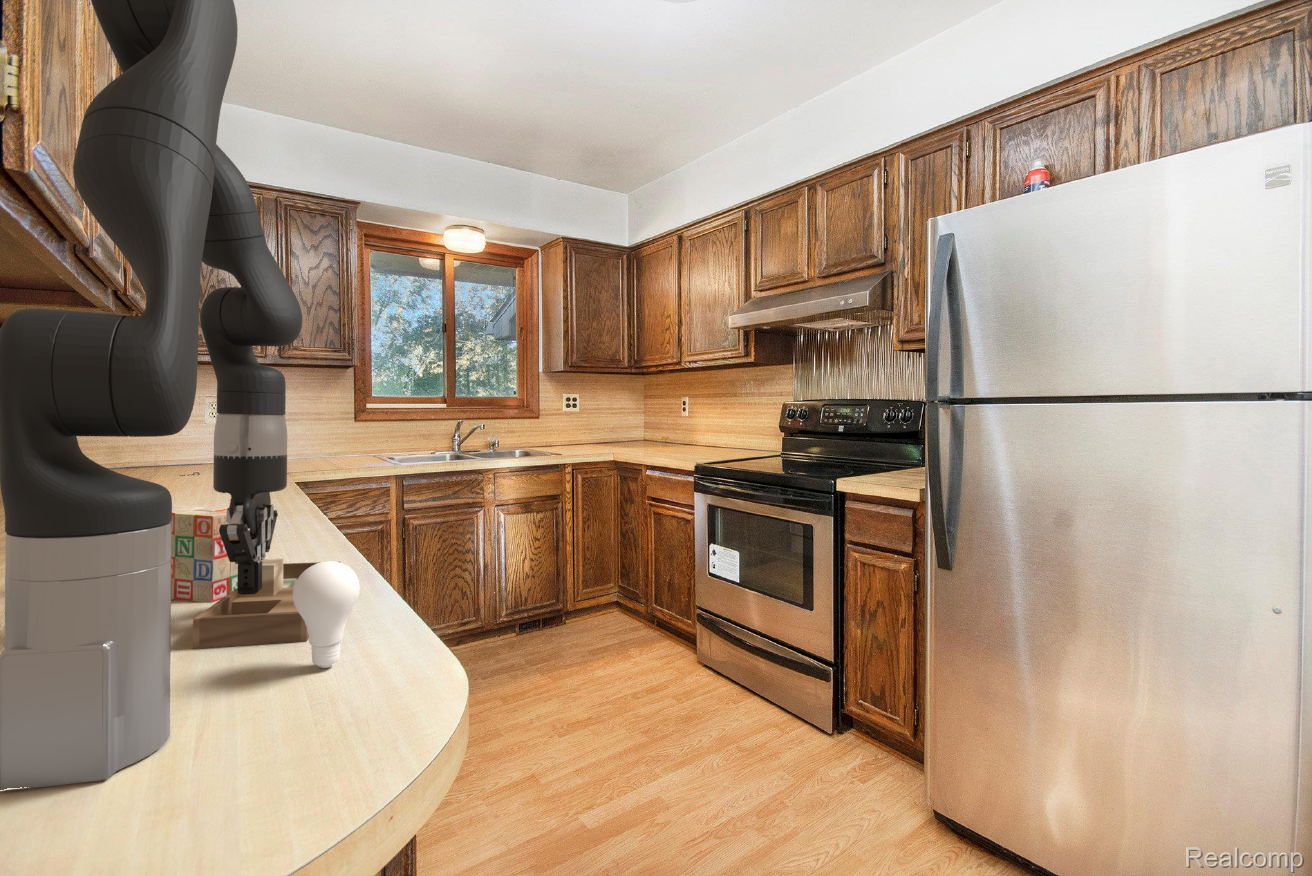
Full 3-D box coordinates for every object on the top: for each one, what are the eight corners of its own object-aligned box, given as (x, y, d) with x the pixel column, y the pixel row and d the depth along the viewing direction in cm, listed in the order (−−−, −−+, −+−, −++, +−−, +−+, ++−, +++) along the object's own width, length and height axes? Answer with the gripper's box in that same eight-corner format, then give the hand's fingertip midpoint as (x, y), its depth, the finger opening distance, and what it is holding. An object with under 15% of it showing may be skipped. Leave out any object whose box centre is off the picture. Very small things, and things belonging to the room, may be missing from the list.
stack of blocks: (79, 593, 88) (80, 507, 87) (124, 582, 94) (124, 501, 94) (212, 603, 85) (213, 514, 84) (248, 591, 91) (249, 508, 90)
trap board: (306, 641, 71) (307, 602, 71) (192, 649, 68) (193, 608, 68) (344, 591, 91) (344, 561, 91) (258, 595, 88) (258, 564, 88)
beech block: (273, 595, 80) (274, 565, 80) (238, 597, 79) (238, 566, 79) (283, 587, 84) (283, 558, 84) (249, 589, 83) (249, 559, 83)
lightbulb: (283, 682, 60) (284, 570, 60) (301, 658, 66) (302, 556, 66) (351, 676, 62) (353, 567, 61) (363, 654, 68) (365, 554, 67)
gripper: (268, 455, 70) (267, 607, 70) (300, 449, 83) (298, 577, 83) (191, 454, 68) (190, 610, 68) (236, 448, 80) (234, 580, 81)
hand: (249, 592), depth 76 cm, fingers closed
